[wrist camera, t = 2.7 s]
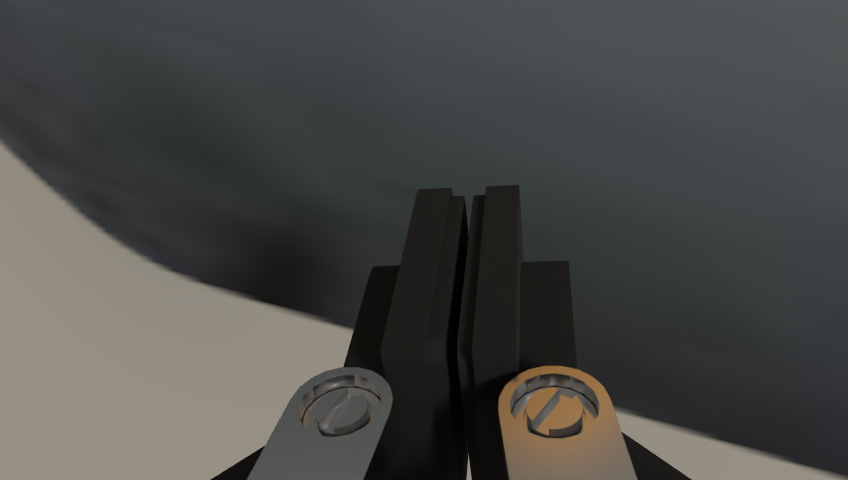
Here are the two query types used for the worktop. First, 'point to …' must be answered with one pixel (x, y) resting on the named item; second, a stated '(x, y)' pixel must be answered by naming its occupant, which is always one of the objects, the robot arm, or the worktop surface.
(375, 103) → the worktop surface
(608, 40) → the worktop surface
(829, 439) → the worktop surface
